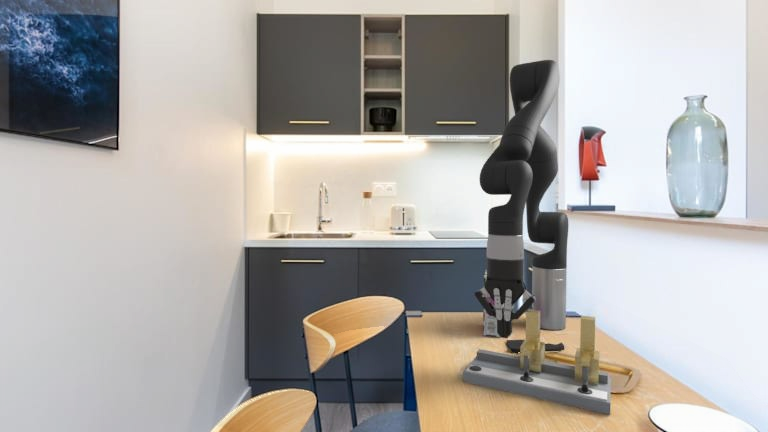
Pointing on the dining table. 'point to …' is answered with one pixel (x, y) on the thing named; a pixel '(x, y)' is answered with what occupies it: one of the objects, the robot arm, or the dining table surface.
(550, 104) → the robot arm
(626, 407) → the dining table surface
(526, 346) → the slider
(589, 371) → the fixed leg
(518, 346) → the dark sector wedge
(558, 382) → the board
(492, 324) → the candy bar box
